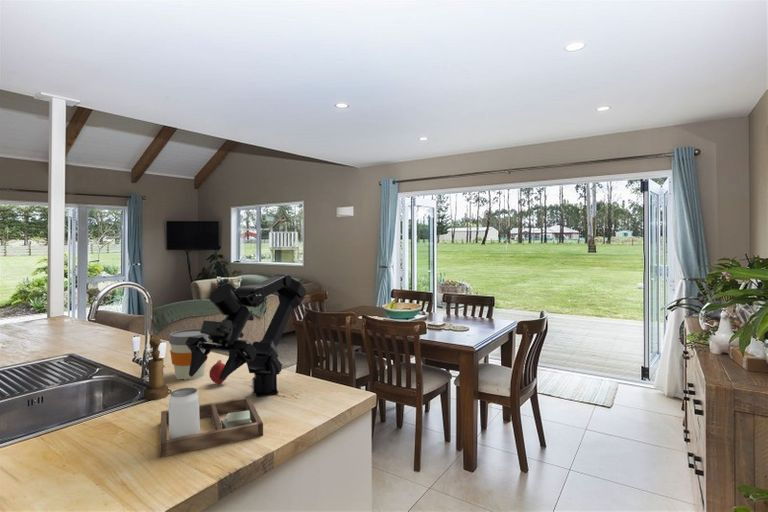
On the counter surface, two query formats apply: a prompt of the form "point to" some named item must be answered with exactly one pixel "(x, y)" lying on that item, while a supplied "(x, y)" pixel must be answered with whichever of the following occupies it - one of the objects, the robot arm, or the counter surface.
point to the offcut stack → (236, 419)
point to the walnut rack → (219, 434)
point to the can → (184, 413)
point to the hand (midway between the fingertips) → (205, 377)
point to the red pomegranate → (217, 372)
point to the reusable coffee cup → (184, 353)
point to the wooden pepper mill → (155, 374)
